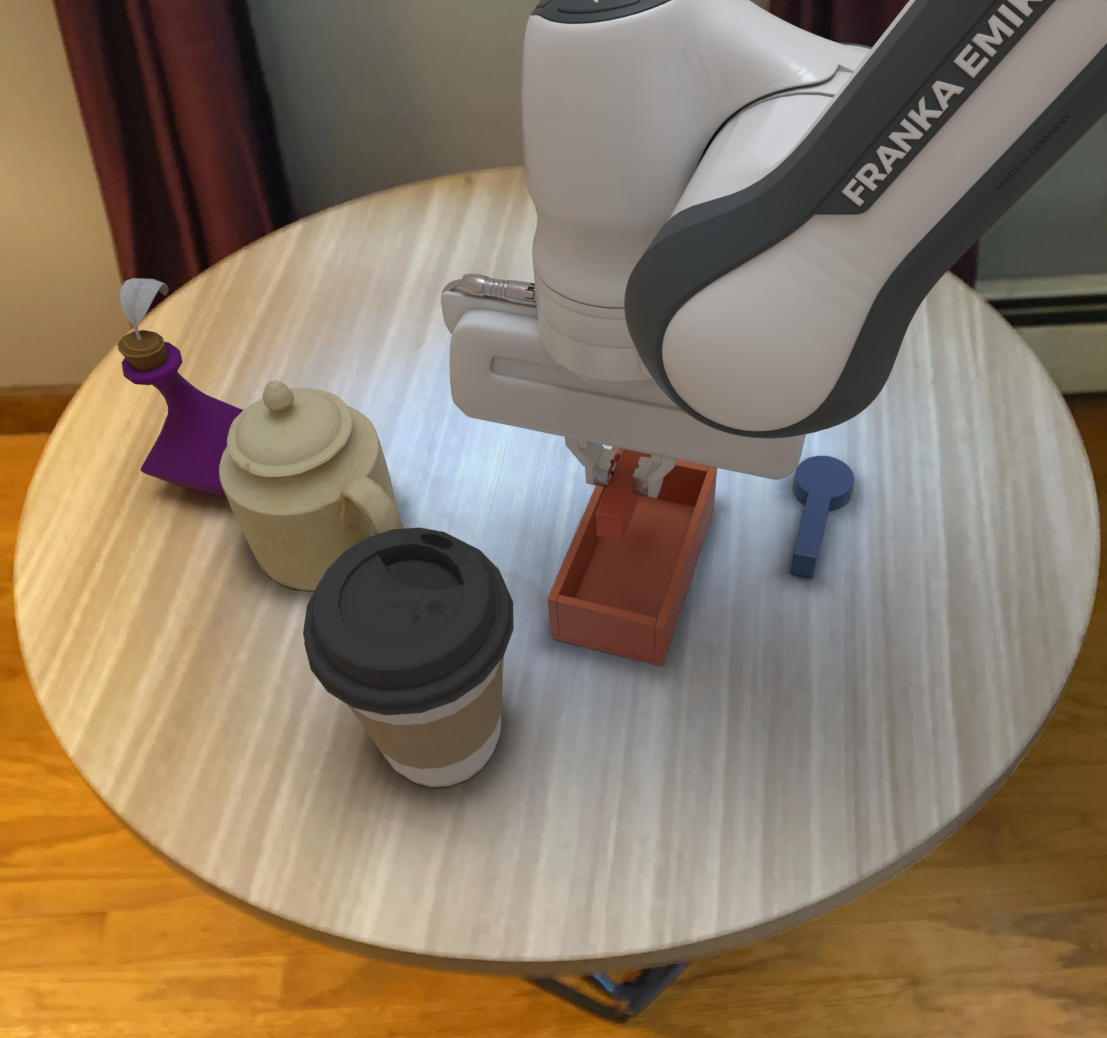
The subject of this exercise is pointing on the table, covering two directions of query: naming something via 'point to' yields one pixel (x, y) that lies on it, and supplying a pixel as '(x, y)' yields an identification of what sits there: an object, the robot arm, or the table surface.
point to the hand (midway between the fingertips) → (625, 483)
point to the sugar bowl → (305, 481)
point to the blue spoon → (817, 505)
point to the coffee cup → (415, 649)
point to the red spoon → (619, 497)
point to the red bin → (634, 569)
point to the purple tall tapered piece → (174, 401)
